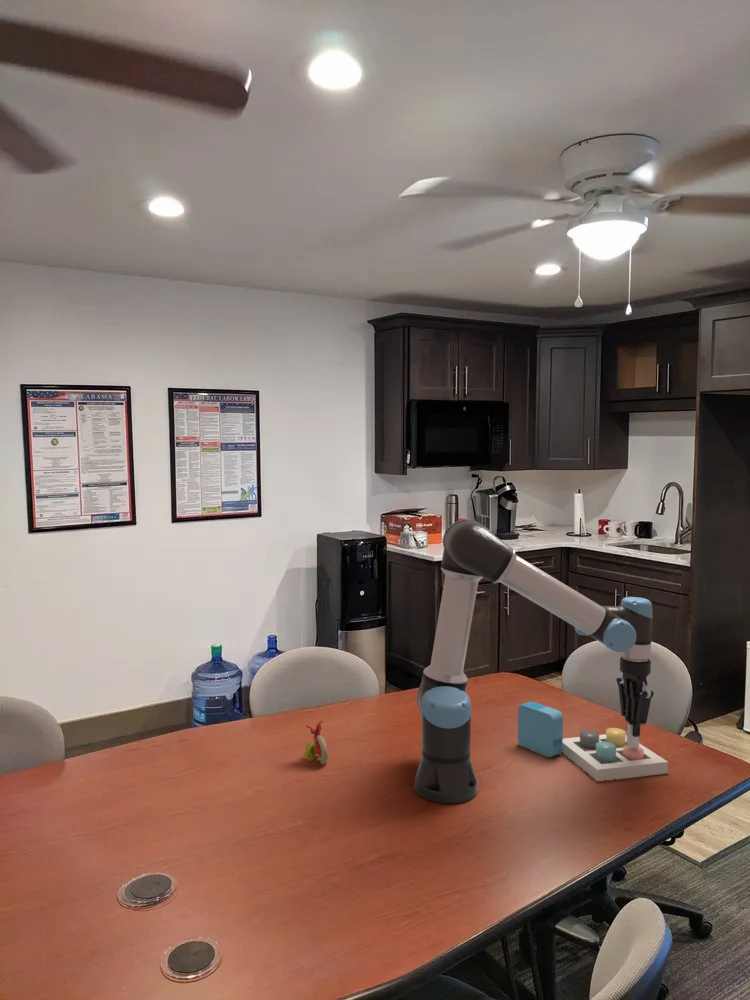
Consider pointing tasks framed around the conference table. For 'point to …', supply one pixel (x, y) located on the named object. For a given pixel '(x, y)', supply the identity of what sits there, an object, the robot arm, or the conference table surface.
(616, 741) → the mustard button
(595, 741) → the charcoal button
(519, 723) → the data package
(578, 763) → the tray
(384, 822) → the conference table surface
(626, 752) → the coral button
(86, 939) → the conference table surface
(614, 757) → the teal button
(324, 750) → the bird rattle
